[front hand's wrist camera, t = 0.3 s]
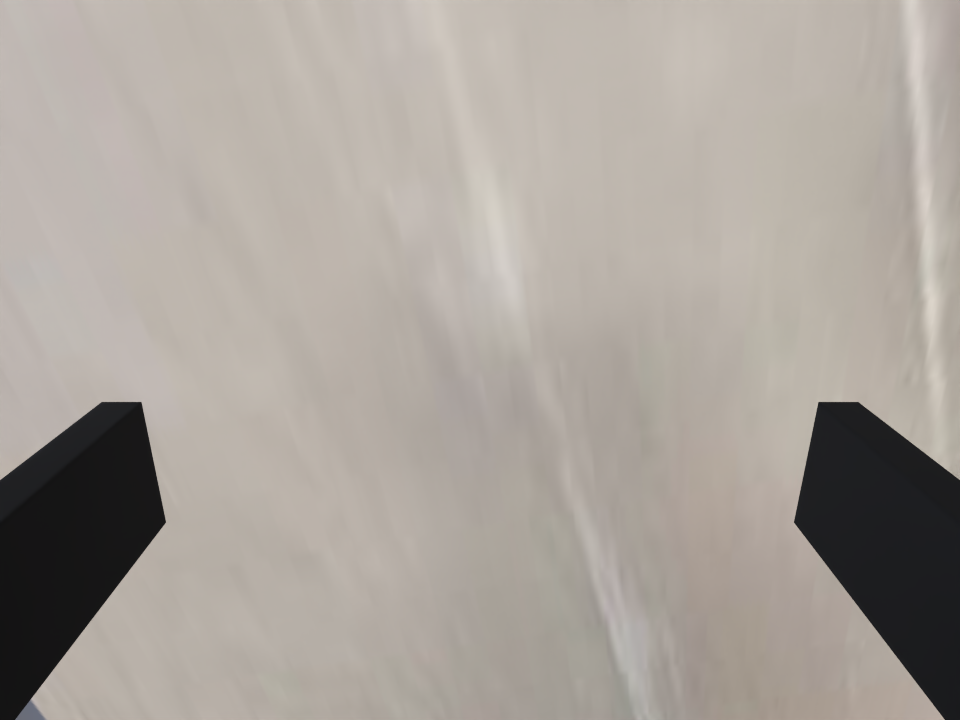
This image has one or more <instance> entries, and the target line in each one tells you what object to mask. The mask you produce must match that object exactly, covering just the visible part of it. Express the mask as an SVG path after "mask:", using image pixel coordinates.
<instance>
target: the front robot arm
mask: <svg viewBox="0 0 960 720" xmlns="http://www.w3.org/2000/svg"><path fill="white" fill-rule="evenodd" d="M165 523H166V520H165V515H164V510H163V506H162V501H161V496H160V491H159V486H158V481H157V476H156V471H155V466H154V461H153V457H152V452H151V447H150V442H149V437H148V432H147V427H146V422H145V417H144V412H143V408H142V403H141V402H101V403H100V404H99V405H98V406H96V407H95V408H94V409H92V410H91V411H90V412H88V413H87V414H86V415H84V416H83V417H82V418H81V419H79V420H78V421H77V422H75V423H74V424H73V425H71V426H70V427H69V428H68V429H66V430H65V431H64V432H62V433H61V434H60V435H58V436H57V437H56V438H55V439H53V440H52V441H51V442H49V443H48V444H47V445H45V446H44V447H43V448H42V449H40V450H39V451H38V452H36V453H35V454H34V455H32V456H31V457H30V458H29V459H27V460H26V461H25V462H23V463H22V464H21V465H19V466H18V467H17V468H15V469H14V470H13V471H12V472H10V473H9V474H8V475H6V476H5V477H4V478H2V479H1V480H0V720H15V719H16V718H17V716H18V715H19V714H20V712H21V711H22V710H23V709H24V707H25V706H26V705H27V703H28V702H29V701H30V699H31V698H32V697H33V696H34V694H35V693H36V692H37V690H38V689H39V688H40V686H41V685H42V684H43V682H44V681H45V680H46V679H47V677H48V676H49V675H50V673H51V672H52V671H53V669H54V668H55V667H56V665H57V664H58V663H59V662H60V660H61V659H62V658H63V656H64V655H65V654H66V652H67V651H68V650H69V648H70V647H71V646H72V645H73V643H74V642H75V641H76V639H77V638H78V637H79V635H80V634H81V633H82V631H83V630H84V629H85V628H86V626H87V625H88V624H89V622H90V621H91V620H92V618H93V617H94V616H95V614H96V613H97V612H98V611H99V609H100V608H101V607H102V605H103V604H104V603H105V601H106V600H107V599H108V597H109V596H110V595H111V594H112V592H113V591H114V590H115V588H116V587H117V586H118V584H119V583H120V582H121V580H122V579H123V578H124V577H125V575H126V574H127V573H128V571H129V570H130V569H131V567H132V566H133V565H134V563H135V562H136V561H137V560H138V558H139V557H140V556H141V554H142V553H143V552H144V550H145V549H146V548H147V546H148V545H149V544H150V543H151V541H152V540H153V539H154V537H155V536H156V535H157V533H158V532H159V531H160V529H161V528H162V527H163V526H164V524H165ZM794 523H795V524H796V526H797V527H798V528H799V529H800V531H801V532H802V533H803V535H804V536H805V537H806V539H807V540H808V541H809V543H810V544H811V545H812V546H813V548H814V549H815V550H816V552H817V553H818V554H819V556H820V557H821V558H822V560H823V561H824V562H825V563H826V565H827V566H828V567H829V569H830V570H831V571H832V573H833V574H834V575H835V577H836V578H837V579H838V580H839V582H840V583H841V584H842V586H843V587H844V588H845V590H846V591H847V592H848V594H849V595H850V596H851V597H852V599H853V600H854V601H855V603H856V604H857V605H858V607H859V608H860V609H861V611H862V612H863V613H864V614H865V616H866V617H867V618H868V620H869V621H870V622H871V624H872V625H873V626H874V628H875V629H876V630H877V631H878V633H879V634H880V635H881V637H882V638H883V639H884V641H885V642H886V643H887V645H888V646H889V647H890V648H891V650H892V651H893V652H894V654H895V655H896V656H897V658H898V659H899V660H900V662H901V663H902V664H903V665H904V667H905V668H906V669H907V671H908V672H909V673H910V675H911V676H912V677H913V679H914V680H915V681H916V682H917V684H918V685H919V686H920V688H921V689H922V690H923V692H924V693H925V694H926V696H927V697H928V698H929V699H930V701H931V702H932V703H933V705H934V706H935V707H936V709H937V710H938V711H939V713H940V714H941V715H942V716H943V718H944V719H945V720H960V480H959V479H958V478H956V477H955V476H954V475H952V474H951V473H950V472H948V471H947V470H946V469H945V468H943V467H942V466H941V465H939V464H938V463H937V462H935V461H934V460H933V459H931V458H930V457H929V456H928V455H926V454H925V453H924V452H922V451H921V450H920V449H918V448H917V447H916V446H915V445H913V444H912V443H911V442H909V441H908V440H907V439H905V438H904V437H903V436H902V435H900V434H899V433H898V432H896V431H895V430H894V429H892V428H891V427H890V426H889V425H887V424H886V423H885V422H883V421H882V420H881V419H879V418H878V417H877V416H876V415H874V414H873V413H872V412H870V411H869V410H868V409H866V408H865V407H864V406H862V405H861V404H860V403H859V402H819V403H818V408H817V412H816V417H815V422H814V427H813V432H812V437H811V442H810V447H809V452H808V457H807V461H806V466H805V471H804V476H803V481H802V486H801V491H800V496H799V501H798V506H797V510H796V515H795V520H794Z"/></svg>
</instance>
